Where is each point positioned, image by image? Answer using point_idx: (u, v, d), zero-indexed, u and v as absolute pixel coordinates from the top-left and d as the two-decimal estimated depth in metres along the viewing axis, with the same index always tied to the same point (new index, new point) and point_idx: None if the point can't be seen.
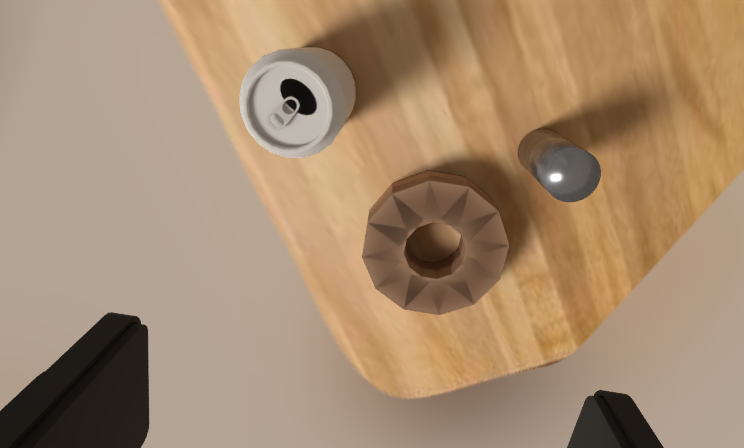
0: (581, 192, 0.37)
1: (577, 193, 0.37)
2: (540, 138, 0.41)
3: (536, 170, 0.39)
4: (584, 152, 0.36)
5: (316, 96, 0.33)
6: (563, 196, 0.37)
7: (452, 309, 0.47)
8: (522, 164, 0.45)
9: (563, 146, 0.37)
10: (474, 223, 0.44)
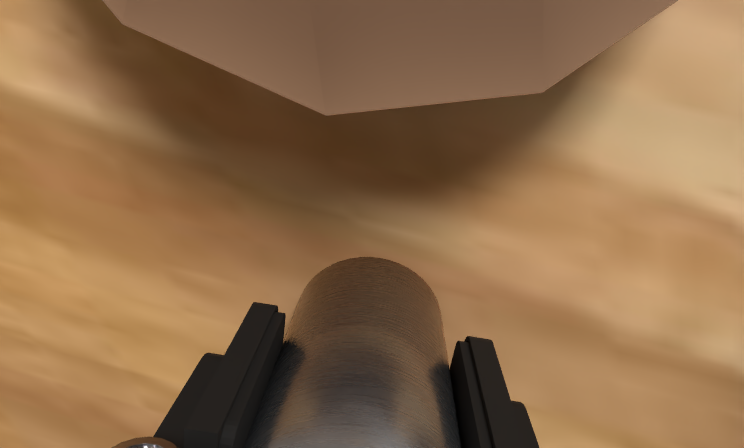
0: None
1: None
2: None
3: None
4: None
5: None
6: None
7: None
8: (381, 271, 0.12)
9: None
10: None
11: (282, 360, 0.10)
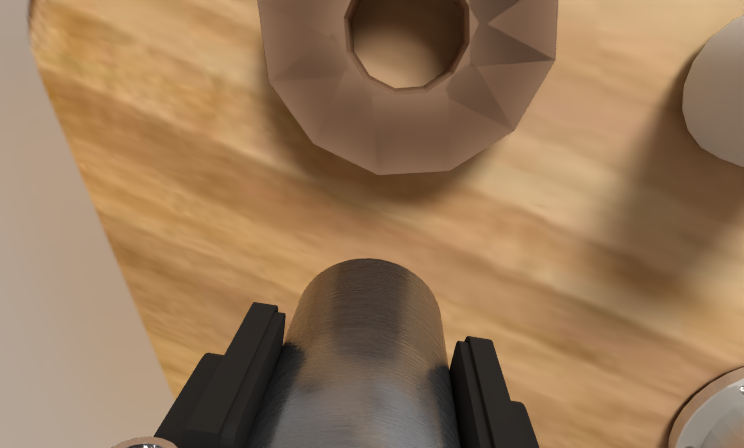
0: None
1: None
2: None
3: None
4: None
5: None
6: None
7: None
8: (381, 272, 0.12)
9: None
10: (392, 128, 0.23)
11: (282, 362, 0.10)
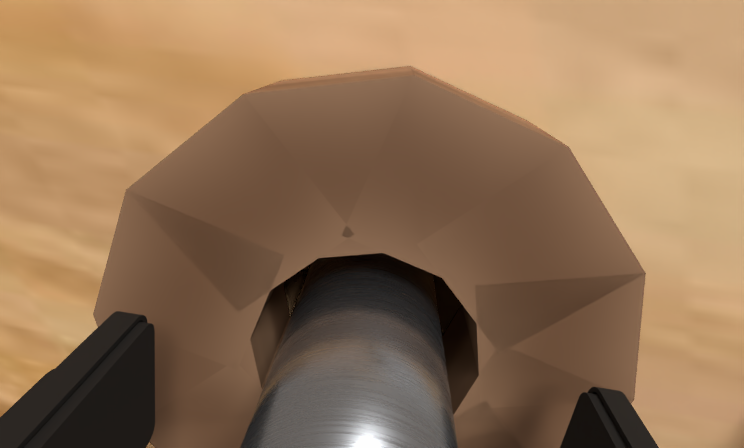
0: None
1: None
2: None
3: (420, 385, 0.09)
4: None
5: None
6: None
7: (119, 244, 0.11)
8: None
9: None
10: None
11: (298, 310, 0.12)
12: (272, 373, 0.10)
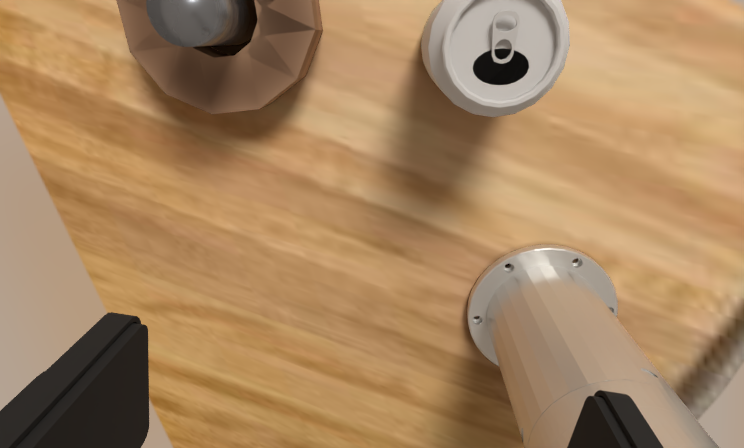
0: (155, 3, 0.28)
1: None
2: (245, 21, 0.33)
3: None
4: (200, 41, 0.28)
5: (483, 84, 0.26)
6: None
7: None
8: None
9: (222, 28, 0.29)
10: (216, 80, 0.34)
11: None
12: None
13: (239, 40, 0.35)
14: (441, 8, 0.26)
